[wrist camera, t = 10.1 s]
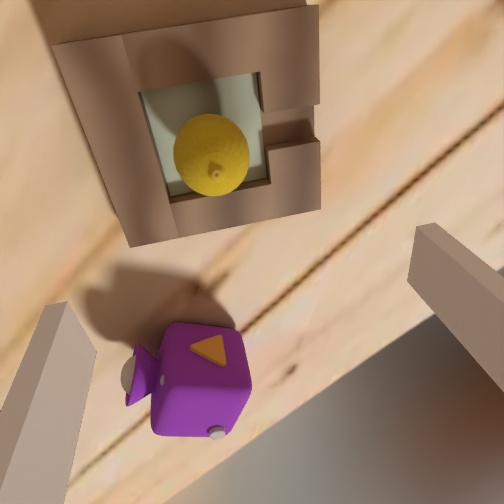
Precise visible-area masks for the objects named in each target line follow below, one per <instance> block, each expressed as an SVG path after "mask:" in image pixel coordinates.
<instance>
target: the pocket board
mask: <svg viewBox="0 0 504 504" xmlns="http://www.w3.org/2000/svg"><path fill="white" fill-rule="evenodd" d="M51 47H52V50H53V53H54V55H55V58H56V60H57V63H58V65H59V68H60V70H61V73H62V75H63V78H64V81H65V83H66V86H67V88H68V91H69V93H70V96H71V98H72V101H73V104H74V106H75V109H76V111H77V114H78V116H79V119H80V121H81V124H82V127H83V129H84V132H85V134H86V137H87V139H88V142H89V144H90V147H91V149H92V152H93V155H94V157H95V160H96V162H97V165H98V167H99V170H100V172H101V175H102V178H103V180H104V183H105V185H106V188H107V190H108V193H109V195H110V198H111V201H112V203H113V206H114V208H115V211H116V213H117V216H118V218H119V221H120V224H121V226H122V229H123V231H124V234H125V236H126V239H127V241H128V244H129V246H130V248H132V247H137V246H142V245H147V244H152V243H157V242H162V241H167V240H171V239H176V238H181V237H186V236H191V235H196V234H201V233H206V232H211V231H216V230H221V229H226V228H231V227H235V226H240V225H245V224H250V223H255V222H260V221H265V220H270V219H275V218H280V217H285V216H290V215H295V214H300V213H304V212H309V211H314V210H319V209H321V168H320V141H319V140H318V139H317V138H316V137H315V136H314V105H316V104H320V78H319V5H305V6H298V7H292V8H285V9H279V10H272V11H266V12H259V13H253V14H246V15H240V16H233V17H227V18H220V19H214V20H207V21H201V22H194V23H188V24H181V25H175V26H168V27H162V28H155V29H149V30H142V31H136V32H129V33H123V34H116V35H110V36H103V37H97V38H90V39H84V40H77V41H71V42H64V43H59V44H56V45H52V46H51ZM202 114H217V115H220V116H224V117H226V118H227V119H229V120H231V121H232V122H234V123H235V124H236V125H237V126H238V127H239V128H240V129H241V131H242V133H243V134H244V136H245V138H246V140H247V143H248V147H249V151H250V163H249V167H248V171H247V174H246V176H245V178H244V180H243V181H242V182H241V184H240V185H239V186H238V187H237V188H236V189H234V190H233V191H231V192H230V193H227V194H225V195H221V196H206V195H203V194H200V193H197V192H196V191H194V190H193V189H191V188H190V187H189V186H188V185H187V184H186V183H185V182H184V181H183V180H182V179H181V177H180V175H179V173H178V172H177V170H176V166H175V163H174V159H173V146H174V142H175V139H176V136H177V134H178V132H179V131H180V129H181V127H182V126H183V125H184V124H185V123H186V122H187V121H188V120H190V119H192V118H194V117H196V116H199V115H202Z"/></svg>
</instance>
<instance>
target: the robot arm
mask: <svg viewBox="0 0 504 504" xmlns="http://www.w3.org/2000/svg"><path fill="white" fill-rule="evenodd" d="M407 282H408V283H409V284H410V285H411V286H412V287H413V289H414V290H415V291H416V292H417V293H418V294H419V295H420V297H421V298H422V299H423V300H424V301H425V302H426V303H427V305H428V306H429V307H430V308H431V309H432V310H433V311H434V313H435V314H436V315H437V316H438V317H439V318H440V319H441V321H442V322H443V323H444V324H445V325H446V326H447V327H448V329H449V330H450V331H451V332H452V333H453V334H454V335H455V336H456V338H457V339H458V340H459V341H460V342H461V344H462V345H463V346H464V347H465V348H466V349H467V350H468V351H469V353H470V354H471V355H472V356H473V357H474V358H475V360H476V361H477V362H478V363H479V364H480V365H481V366H482V368H483V369H484V370H485V371H486V372H487V373H488V374H489V376H490V377H491V378H492V379H493V380H494V381H495V382H496V383H497V384H498V386H499V387H500V388H501V389H502V390H503V392H504V277H502V276H501V275H500V274H499V273H497V272H496V271H495V270H494V269H492V268H491V267H490V266H489V265H487V264H486V263H485V262H484V261H482V260H481V259H480V258H479V257H477V256H476V255H475V254H474V253H472V252H471V251H470V250H469V249H467V248H466V247H465V246H464V245H462V244H461V243H460V242H459V241H458V240H456V239H455V238H454V237H453V236H451V235H450V234H449V233H448V232H446V231H445V230H444V229H443V228H441V227H440V226H439V225H438V224H436V223H431V224H426V225H421V226H417V227H416V232H415V238H414V244H413V250H412V256H411V262H410V267H409V273H408V279H407ZM96 354H97V351H96V350H95V348H94V346H93V344H92V343H91V341H90V339H89V337H88V336H87V334H86V332H85V331H84V329H83V327H82V325H81V324H80V322H79V320H78V318H77V317H76V315H75V313H74V312H73V310H72V308H71V306H70V305H69V303H68V301H67V302H62V303H57V304H53V305H48V306H45V308H44V310H43V313H42V315H41V318H40V320H39V322H38V325H37V327H36V329H35V332H34V334H33V336H32V339H31V341H30V343H29V346H28V348H27V350H26V353H25V355H24V357H23V360H22V362H21V364H20V367H19V369H18V371H17V374H16V376H15V379H14V381H13V383H12V386H11V388H10V390H9V393H8V395H7V397H6V400H5V402H4V404H3V407H2V409H1V411H0V504H64V500H65V496H66V491H67V487H68V482H69V477H70V473H71V468H72V464H73V459H74V455H75V450H76V445H77V441H78V436H79V432H80V427H81V422H82V418H83V413H84V409H85V404H86V399H87V395H88V390H89V386H90V381H91V376H92V372H93V367H94V363H95V358H96Z"/></svg>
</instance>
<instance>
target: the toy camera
mask: <svg viewBox="0 0 504 504" xmlns="http://www.w3.org/2000/svg"><path fill="white" fill-rule="evenodd" d="M121 384H122V387H123V389H124V390H125V392H126V406H130V405H132V404H134V403H136V402H137V401H139V400H141V399H142V398H144V397H145V396H147V395H148V394H150V393H151V418H150V419H151V428H152V430H153V432H154V433H155V434H157V435H161V436H180V437H210V438H211V439H213V440H218V439H221V438H223V437H224V436H225V435H227V434H228V433H229V432H230V431H231V429H232V428H233V426H234V425H235V423H236V421H237V419H238V417H239V415H240V414H241V412H242V410H243V408H244V406H245V404H246V402H247V401H248V399H249V396H250V394H251V390H252V382H251V376H250V371H249V366H248V362H247V357H246V353H245V348H244V343H243V340H242V337H241V334H240V333H239V332H238V331H237V330H234V329H230V328H223V327H215V326H207V325H199V324H191V323H172V324H171V325H170V326H169V327H168V328H167V330H166V332H165V334H164V337H163V340H162V343H161V346H160V349H159V352H158V355H157V359H156V358H155V357H153V356H152V355H151V354H150V353H149V352H148V351H147V350H146V349H145V348H144V347H142V346H141V345H139V344H137V345H136V346H135V349H134V352H133V356H132V357H131V358H130V359H128V360H127V362H126V363H125V364H124V366H123V369H122V372H121Z"/></svg>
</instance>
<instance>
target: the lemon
mask: <svg viewBox="0 0 504 504" xmlns="http://www.w3.org/2000/svg"><path fill="white" fill-rule="evenodd" d="M173 159H174V163H175V166H176V170H177V172H178V173H179V175H180V177H181V179H182V180H183V181H184V182H185V183H186V184H187V185H188V186H189V187H190V188H191V189H193V190H194V191H196V192H197V193H200V194H203V195H206V196H221V195H225V194H227V193H230V192H231V191H233V190H234V189H236V188H237V187H238V186H239V185H240V184H241V182H242V181H243V180H244V178H245V176H246V174H247V171H248V167H249V163H250V151H249V147H248V143H247V140H246V138H245V136H244V134H243V133H242V131H241V129H240V128H239V127H238V126H237V125H236V124H235V123H234V122H232V121H231V120H229V119H227V118H226V117H224V116H220V115H217V114H202V115H199V116H196V117H194V118H192V119H190V120H188V121H187V122H186V123H185V124H184V125H183V126H182V127H181V129H180V131H179V132H178V134H177V136H176V139H175V142H174V146H173Z"/></svg>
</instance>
